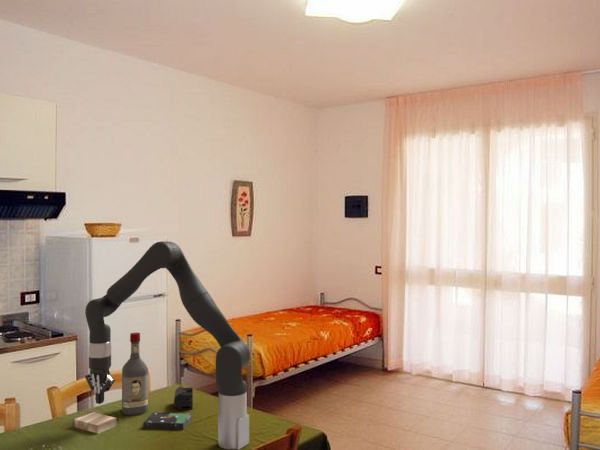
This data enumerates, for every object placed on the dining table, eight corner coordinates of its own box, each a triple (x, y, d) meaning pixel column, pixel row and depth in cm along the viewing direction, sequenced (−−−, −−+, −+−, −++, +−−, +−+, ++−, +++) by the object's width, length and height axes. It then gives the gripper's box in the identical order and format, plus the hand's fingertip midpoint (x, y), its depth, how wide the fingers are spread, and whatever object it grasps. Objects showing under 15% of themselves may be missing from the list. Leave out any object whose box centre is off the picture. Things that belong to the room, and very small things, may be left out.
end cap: (174, 402, 211) (174, 386, 211) (192, 401, 213) (192, 385, 213) (173, 411, 202) (173, 394, 202) (192, 410, 203) (192, 392, 203)
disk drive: (142, 430, 185) (184, 430, 184) (142, 422, 185) (184, 422, 184) (152, 419, 195) (191, 419, 194) (152, 411, 195) (191, 412, 194)
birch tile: (116, 417, 187) (91, 411, 193) (98, 425, 180) (72, 418, 186) (116, 426, 187) (91, 419, 193) (98, 434, 180) (72, 427, 186)
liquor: (121, 408, 204) (121, 332, 204) (145, 405, 208) (145, 330, 208) (123, 416, 196) (123, 336, 196) (148, 413, 199) (148, 334, 199)
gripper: (121, 354, 185) (121, 403, 186) (95, 349, 192) (95, 397, 192) (104, 359, 179) (104, 409, 179) (78, 354, 185) (78, 403, 185)
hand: (99, 403), depth 185 cm, fingers closed
